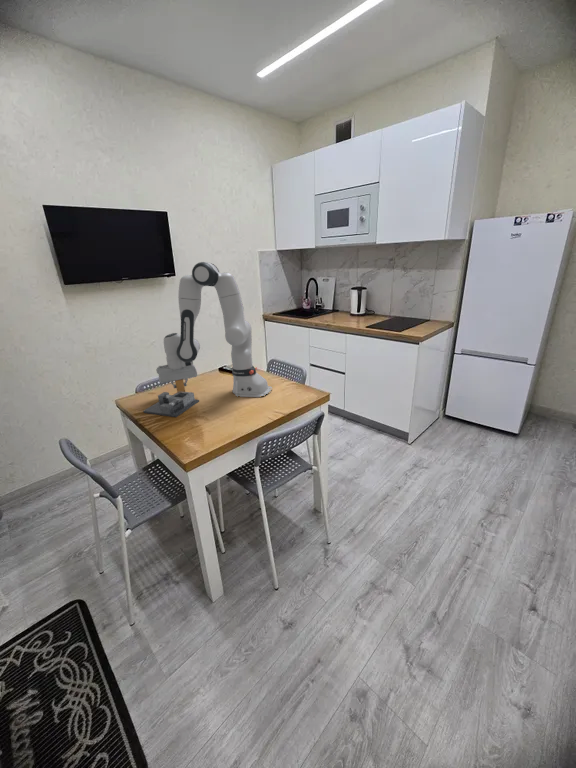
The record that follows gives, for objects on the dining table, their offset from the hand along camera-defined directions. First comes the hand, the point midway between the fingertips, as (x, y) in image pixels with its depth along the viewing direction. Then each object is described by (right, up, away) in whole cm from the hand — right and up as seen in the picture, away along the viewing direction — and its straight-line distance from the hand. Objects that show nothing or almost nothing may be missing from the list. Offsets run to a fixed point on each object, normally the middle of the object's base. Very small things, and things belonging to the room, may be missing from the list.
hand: (180, 386), depth 177 cm
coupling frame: (+1, -10, -14) cm, 17 cm away
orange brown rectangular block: (0, -4, +2) cm, 4 cm away
